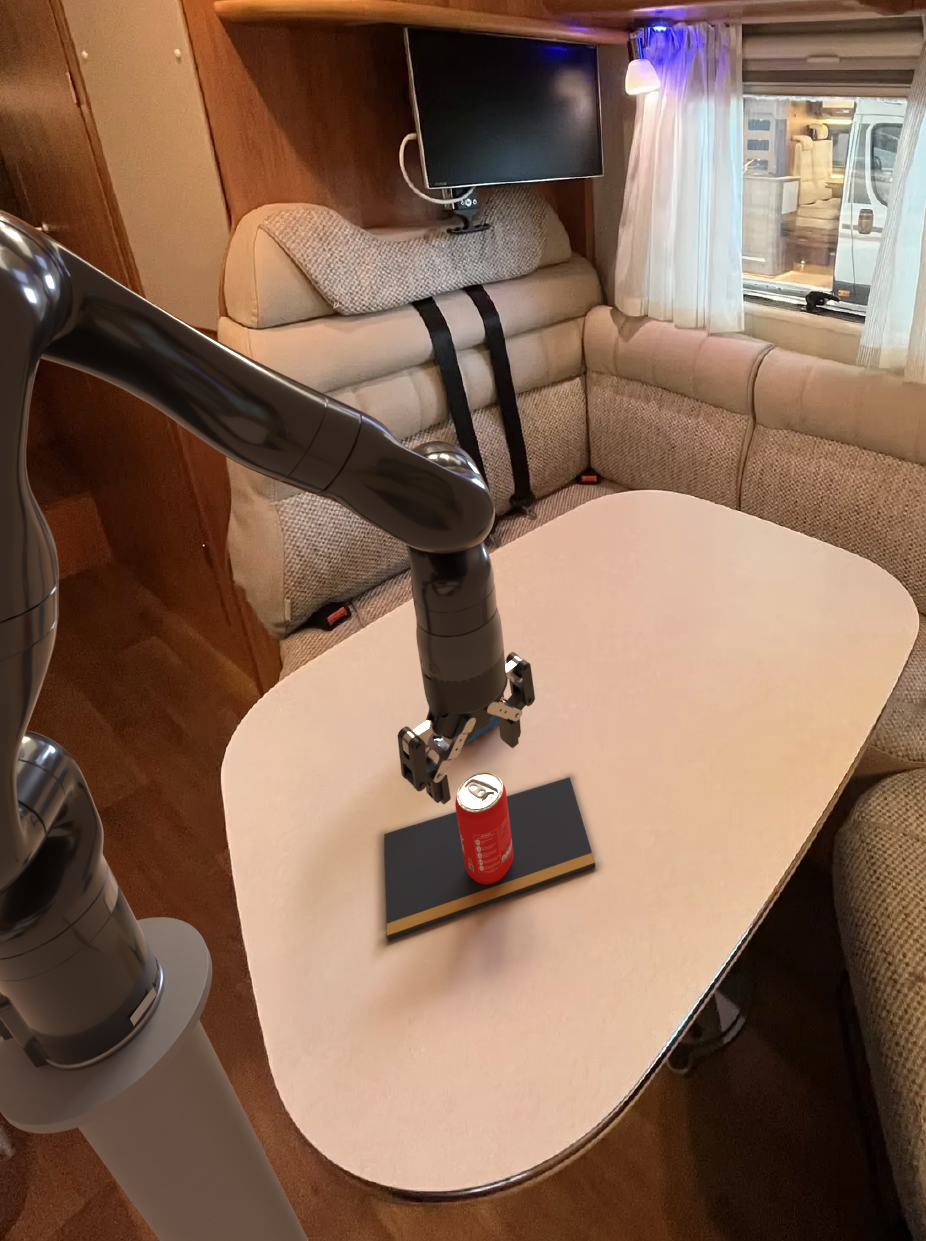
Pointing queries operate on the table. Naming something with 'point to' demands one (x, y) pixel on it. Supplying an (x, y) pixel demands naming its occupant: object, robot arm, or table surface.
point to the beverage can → (484, 827)
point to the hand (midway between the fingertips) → (476, 768)
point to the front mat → (435, 869)
